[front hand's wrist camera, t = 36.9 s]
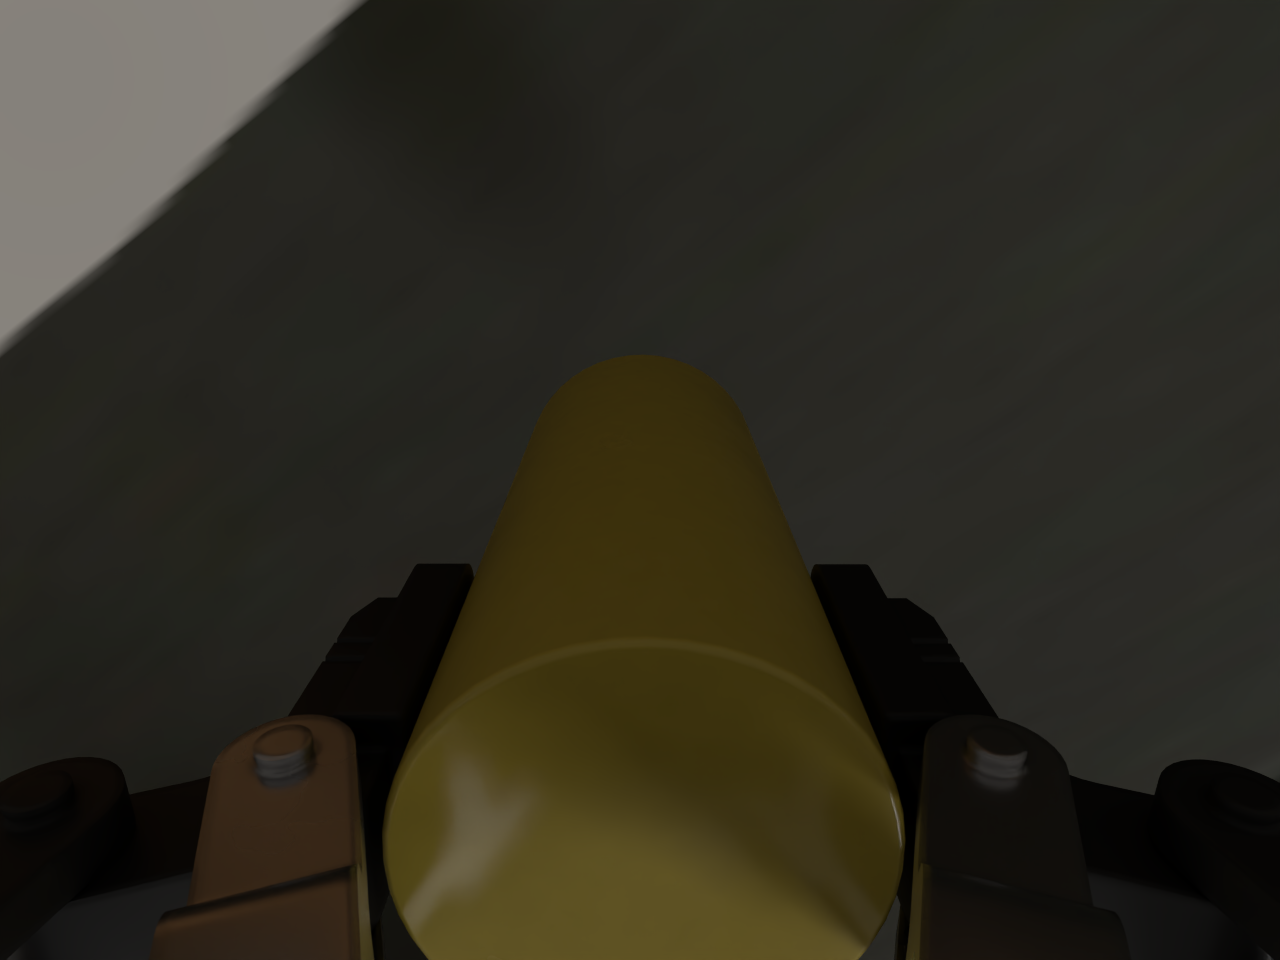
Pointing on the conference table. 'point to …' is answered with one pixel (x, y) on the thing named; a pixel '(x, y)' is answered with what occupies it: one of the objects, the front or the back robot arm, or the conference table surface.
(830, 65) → the conference table surface
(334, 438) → the conference table surface
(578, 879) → the can
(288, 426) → the conference table surface
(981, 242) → the conference table surface
